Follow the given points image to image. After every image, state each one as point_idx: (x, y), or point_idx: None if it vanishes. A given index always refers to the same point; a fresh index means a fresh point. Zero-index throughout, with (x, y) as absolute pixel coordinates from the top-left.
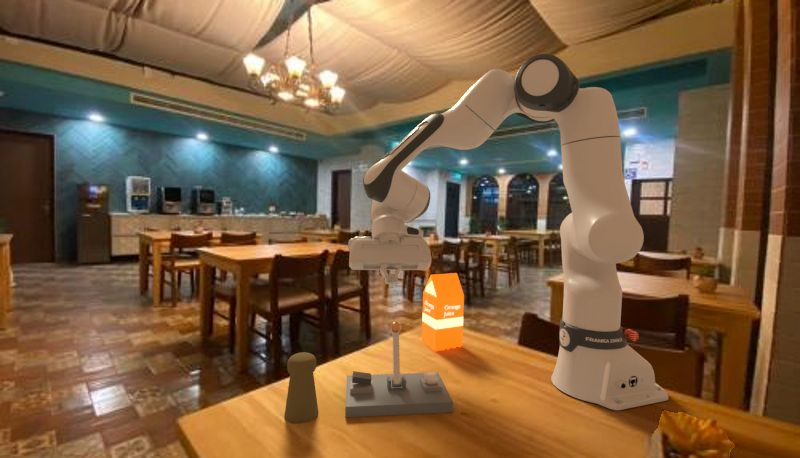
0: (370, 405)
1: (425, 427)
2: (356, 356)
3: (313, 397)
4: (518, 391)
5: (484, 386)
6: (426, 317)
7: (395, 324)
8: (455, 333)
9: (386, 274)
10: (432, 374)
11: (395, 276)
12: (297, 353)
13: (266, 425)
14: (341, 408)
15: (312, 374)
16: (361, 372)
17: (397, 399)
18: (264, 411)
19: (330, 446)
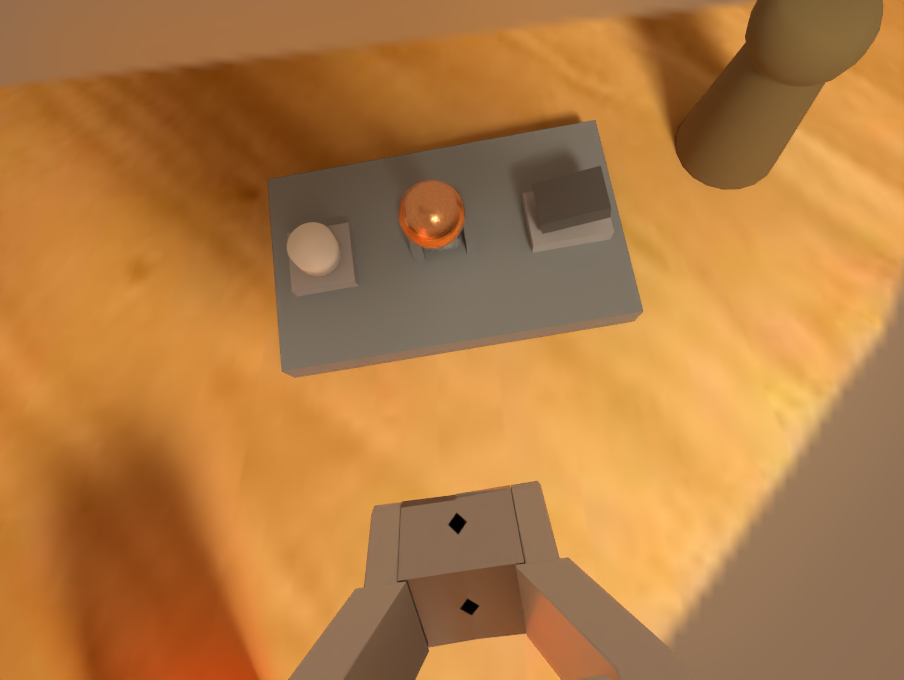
0: (519, 135)
1: (364, 124)
2: (657, 596)
3: (706, 96)
4: (38, 331)
5: (138, 355)
6: None
7: (429, 183)
8: None
9: (542, 558)
10: (304, 245)
11: (401, 547)
12: (865, 13)
13: None
14: (612, 181)
15: (747, 52)
16: (577, 215)
17: (438, 173)
18: (845, 143)
19: (597, 34)
